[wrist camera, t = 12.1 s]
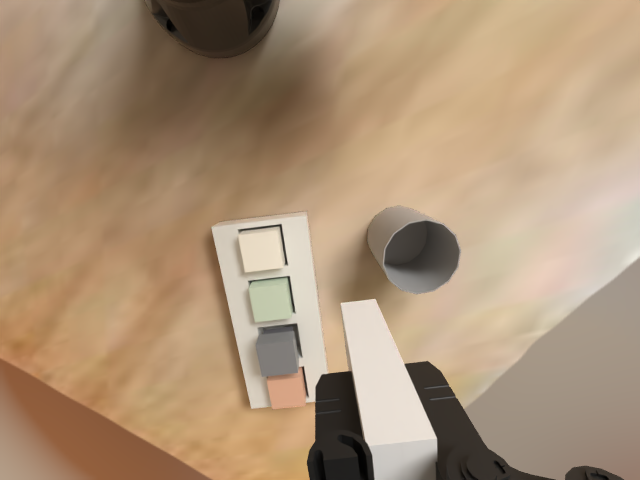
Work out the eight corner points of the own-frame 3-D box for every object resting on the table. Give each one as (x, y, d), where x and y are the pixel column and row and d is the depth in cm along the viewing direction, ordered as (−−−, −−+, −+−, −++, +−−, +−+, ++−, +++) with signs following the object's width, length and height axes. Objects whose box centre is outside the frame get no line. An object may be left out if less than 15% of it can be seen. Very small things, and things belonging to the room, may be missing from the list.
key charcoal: (261, 327, 41) (255, 345, 37) (295, 323, 41) (292, 340, 37) (266, 357, 42) (261, 377, 38) (299, 353, 42) (298, 372, 38)
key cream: (245, 227, 39) (237, 235, 35) (281, 223, 39) (277, 230, 35) (252, 261, 41) (245, 272, 37) (286, 257, 40) (283, 267, 37)
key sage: (254, 276, 41) (248, 288, 37) (288, 272, 41) (286, 284, 37) (260, 307, 42) (255, 322, 38) (293, 303, 42) (291, 318, 38)
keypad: (219, 221, 40) (211, 226, 37) (307, 210, 40) (306, 215, 37) (255, 391, 47) (251, 408, 44) (329, 382, 47) (331, 399, 44)
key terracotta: (271, 361, 45) (266, 381, 41) (302, 358, 45) (301, 377, 41) (276, 388, 46) (272, 409, 42) (306, 384, 46) (305, 405, 42)
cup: (359, 255, 42) (372, 283, 32) (376, 199, 40) (396, 211, 30) (415, 269, 42) (444, 300, 33) (435, 214, 40) (472, 231, 31)
